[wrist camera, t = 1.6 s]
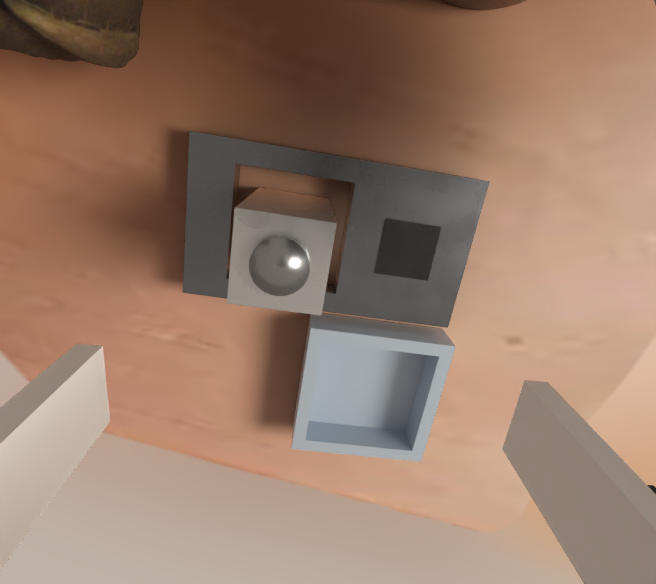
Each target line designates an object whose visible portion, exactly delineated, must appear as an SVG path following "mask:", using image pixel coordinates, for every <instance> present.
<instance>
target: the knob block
mask: <svg viewBox="0 0 656 584" xmlns="http://www.w3.org/2000/svg"><path fill="white" fill-rule="evenodd" d="M336 226H337V222H336V219H335V216H334V213H333V210H332V207H331V204H330V201H329V198H324V197H317V196H311V195H305V194H299V193H292V192H286V191H280V190H273V189H267V188H261V187H259V188H258V189H257V190H256V191H255V192H253V193H252V194H251V195H250V196H248V197H247V198H246V199H245V200H243V201H242V202H241V203H240V204H238V205H237V206H236V207H235V209H234V222H233V234H232V247H231V259H230V272H229V284H228V296H227V303H230V304H237V305H245V306H252V307H260V308H268V309H275V310H283V311H290V312H298V313H306V314H313V315H322V309H323V303H324V297H325V291H326V285H327V280H328V274H329V268H330V262H331V256H332V250H333V244H334V238H335V232H336Z"/></svg>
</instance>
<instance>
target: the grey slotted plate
mask: <svg viewBox="0 0 656 584" xmlns="http://www.w3.org/2000/svg"><path fill="white" fill-rule="evenodd" d="M240 164H242V165H249V166H255V167H261V168H267V169H273V170H279V171H285V172H292V173H298V174H304V175H310V176H316V177H322V178H328V179H334V180H341V181H347V182H352V187H351V192H350V198H349V204H348V210H347V215H346V221H345V227H344V232H343V238H342V244H341V250H340V255H339V261H338V267H337V273H336V278H335V284H334V285H331V284H327V285H326V291H325V297H324V303H323V309H322V311H326V312H334V313H341V314H349V315H357V316H364V317H372V318H379V319H387V320H394V321H402V322H410V323H417V324H425V325H432V326H440V327H447V328H448V325H449V321H450V318H451V314H452V311H453V307H454V304H455V300H456V297H457V293H458V290H459V287H460V283H461V280H462V276H463V273H464V269H465V266H466V262H467V259H468V255H469V252H470V248H471V245H472V241H473V238H474V234H475V231H476V227H477V224H478V220H479V217H480V213H481V210H482V206H483V203H484V199H485V196H486V192H487V189H488V185H489V181H484V180H479V179H473V178H467V177H461V176H455V175H449V174H444V173H438V172H432V171H426V170H420V169H414V168H408V167H402V166H396V165H390V164H384V163H378V162H372V161H367V160H361V159H355V158H349V157H343V156H337V155H331V154H325V153H319V152H313V151H307V150H301V149H295V148H290V147H284V146H278V145H272V144H266V143H260V142H254V141H248V140H242V139H236V138H230V137H224V136H218V135H213V134H207V133H201V132H194V131H189V152H188V177H187V202H186V226H185V251H184V276H183V293H190V294H198V295H205V296H213V297H220V298H227V296H228V284H229V272H230V259H231V247H232V234H233V222H234V209H235V207H236V206H237V196H238V184H239V172H240Z"/></svg>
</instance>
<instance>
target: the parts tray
mask: <svg viewBox="0 0 656 584" xmlns="http://www.w3.org/2000/svg"><path fill="white" fill-rule="evenodd" d="M454 350H455V345H454V344H453V343H452V341H451V340H450V338H449V337H448V336H447V334H446V333H445V331H444V330H443V329H440V328H432V327H424V326H417V325H409V324H402V323H394V322H386V321H379V320H371V319H364V318H356V317H348V316H341V315H333V314H326V313H322V315H313V314H310V320H309V326H308V333H307V339H306V345H305V352H304V358H303V364H302V371H301V377H300V383H299V390H298V396H297V402H296V409H295V415H294V421H293V433H292V449H298V450H308V451H318V452H328V453H338V454H348V455H358V456H368V457H378V458H388V459H398V460H409V461H419V462H421V460H422V457H423V454H424V450H425V447H426V444H427V440H428V437H429V433H430V430H431V427H432V423H433V420H434V417H435V413H436V410H437V407H438V403H439V400H440V397H441V393H442V390H443V386H444V383H445V380H446V376H447V373H448V370H449V366H450V363H451V360H452V356H453V353H454Z"/></svg>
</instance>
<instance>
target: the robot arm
mask: <svg viewBox="0 0 656 584" xmlns="http://www.w3.org/2000/svg"><path fill="white" fill-rule="evenodd" d="M443 1H445V2H447V3H450V4H453V5H456V6H460V7H463V8H470V9H497V8H503V7H508V6H511V5H515V4H518V3H520V2H523V1H525V0H443ZM654 1H655V4H656V0H654ZM109 422H110V416H109V405H108V395H107V385H106V374H105V364H104V354H103V346H97V345H85V344H75V345H74V346H73V347H72V348H71V349H70V350H68V351H67V352H66V353H65V354H64V355H62V356H61V357H60V358H59V359H58V360H56V361H55V362H54V363H53V364H52V365H50V366H49V367H48V368H47V369H46V370H45V371H43V372H42V373H41V374H40V375H39V376H37V377H36V378H35V379H34V380H33V381H31V382H30V383H29V384H28V385H27V386H25V387H24V388H23V389H22V390H21V391H20V392H19V393H17V394H16V395H15V396H14V397H13V398H11V399H10V400H9V401H8V402H6V403H5V404H4V405H3V406H2V407H0V570H1V569H2V567H3V566H4V564H5V563H6V562H7V560H8V559H9V558H10V556H11V555H12V553H13V552H14V551H15V550H16V548H17V547H18V545H19V544H20V543H21V541H22V540H23V539H24V537H25V536H26V534H27V533H28V532H29V531H30V529H31V528H32V527H33V525H34V524H35V522H36V521H37V520H38V518H39V517H40V516H41V514H42V513H43V511H44V510H45V509H46V508H47V506H48V505H49V504H50V502H51V501H52V499H53V498H54V497H55V495H56V494H57V493H58V491H59V490H60V489H61V487H62V486H63V485H64V483H65V482H66V481H67V479H68V478H69V476H70V475H71V474H72V472H73V471H74V470H75V468H76V467H77V465H78V464H79V463H80V461H81V460H82V459H83V457H84V456H85V455H86V453H87V452H88V451H89V449H90V448H91V447H92V445H93V444H94V443H95V441H96V440H97V439H98V437H99V436H100V434H101V433H102V432H103V430H104V429H105V428H106V426H107V425H108V424H109ZM503 451H504V452H505V454H506V456H507V457H508V459H509V461H510V462H511V464H512V466H513V467H514V469H515V471H516V472H517V474H518V475H519V477H520V479H521V480H522V482H523V484H524V485H525V487H526V489H527V490H528V492H529V494H530V495H531V497H532V499H533V500H534V502H535V503H536V505H537V506H538V508H539V510H540V512H541V513H542V515H543V516H544V518H545V520H546V521H547V523H548V525H549V527H550V528H551V530H552V532H553V533H554V535H555V536H556V538H557V540H558V541H559V543H560V545H561V546H562V548H563V550H564V551H565V553H566V554H567V556H568V558H569V559H570V561H571V563H572V565H573V566H574V568H575V569H576V571H577V573H578V574H579V576H580V578H581V579H582V581H583V582H584V584H656V488H655V487H654V486H652V485H646V484H645V483H644V482H643V481H642V480H641V479H640V478H639V476H638V475H637V474H636V473H635V472H634V471H633V470H632V469H631V468H630V467H629V466H628V465H627V464H626V463H625V462H624V461H623V460H622V459H621V458H620V457H619V456H618V455H617V454H616V453H615V452H614V451H613V450H612V449H611V448H610V447H609V445H608V444H607V443H606V442H605V441H604V440H603V439H602V438H601V437H600V436H599V435H598V434H597V433H596V432H595V431H594V430H593V429H592V428H591V427H590V426H589V425H588V424H587V423H586V421H585V420H584V419H583V418H582V417H581V416H580V415H579V414H578V413H577V412H576V411H575V410H574V409H573V408H572V407H571V406H570V405H569V404H568V403H567V402H566V401H565V400H564V399H563V398H562V397H561V396H560V395H559V393H558V392H557V391H556V390H555V389H554V388H553V387H552V386H551V385H550V384H549V383H548V382H539V381H526V380H525V381H524V384H523V387H522V390H521V393H520V396H519V400H518V403H517V406H516V409H515V412H514V415H513V418H512V421H511V424H510V427H509V430H508V433H507V436H506V439H505V442H504V446H503Z"/></svg>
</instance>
